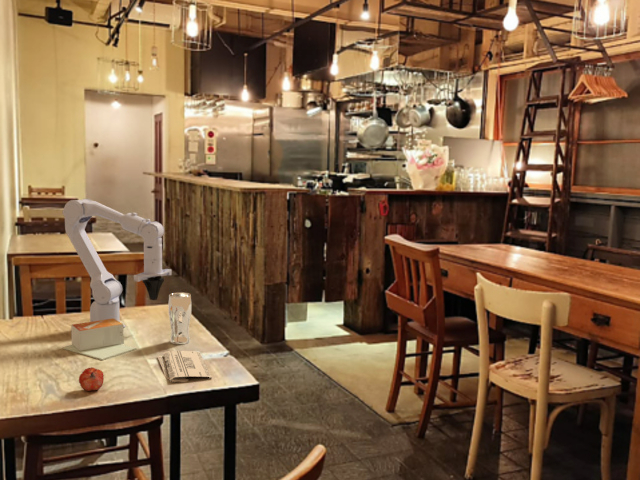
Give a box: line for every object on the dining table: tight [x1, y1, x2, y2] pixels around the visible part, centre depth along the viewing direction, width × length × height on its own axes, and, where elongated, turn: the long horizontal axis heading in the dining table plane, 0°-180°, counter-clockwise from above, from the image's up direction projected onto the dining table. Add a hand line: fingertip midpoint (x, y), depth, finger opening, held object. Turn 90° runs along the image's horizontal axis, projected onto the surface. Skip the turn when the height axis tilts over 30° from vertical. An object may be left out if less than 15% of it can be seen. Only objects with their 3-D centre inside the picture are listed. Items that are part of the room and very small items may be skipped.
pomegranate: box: [78, 366, 105, 392], centre depth 141 cm, size 6×6×8 cm
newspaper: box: [157, 350, 212, 383], centre depth 158 cm, size 23×12×2 cm, turn 20°
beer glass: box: [167, 292, 192, 346], centre depth 179 cm, size 7×7×15 cm
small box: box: [70, 318, 125, 351], centre depth 174 cm, size 8×6×13 cm
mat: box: [62, 343, 137, 361], centre depth 171 cm, size 18×12×1 cm, turn 59°
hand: (153, 299), depth 191 cm, fingers closed
